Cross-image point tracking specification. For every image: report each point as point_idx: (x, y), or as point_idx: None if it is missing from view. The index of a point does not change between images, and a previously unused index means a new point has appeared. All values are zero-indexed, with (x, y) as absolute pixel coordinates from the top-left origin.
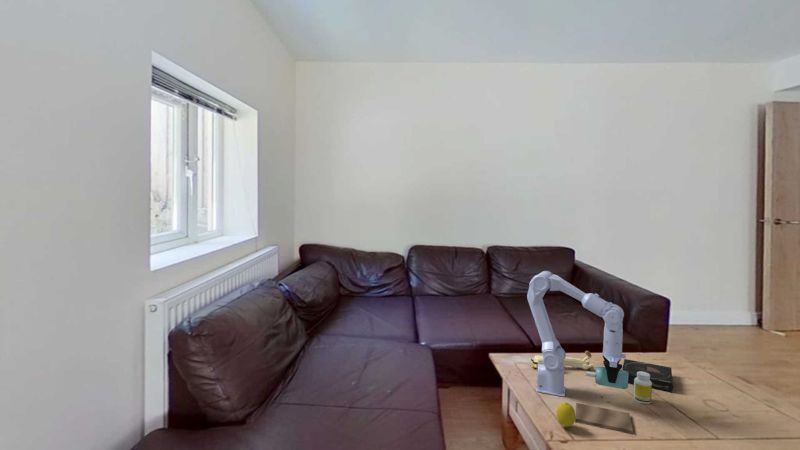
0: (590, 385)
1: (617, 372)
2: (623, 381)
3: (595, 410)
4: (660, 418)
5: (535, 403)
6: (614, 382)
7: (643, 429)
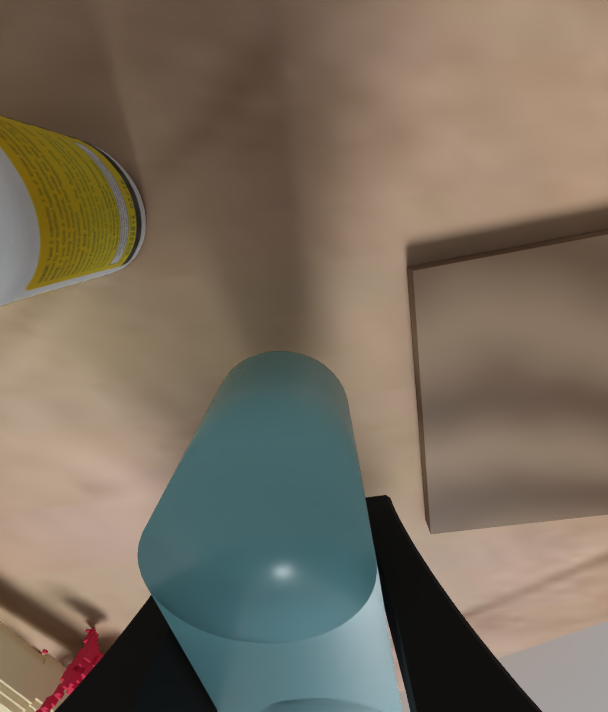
0: (126, 503)
1: (515, 687)
2: (352, 444)
3: (478, 449)
4: (313, 31)
5: (490, 634)
6: (392, 509)
7: (572, 151)
